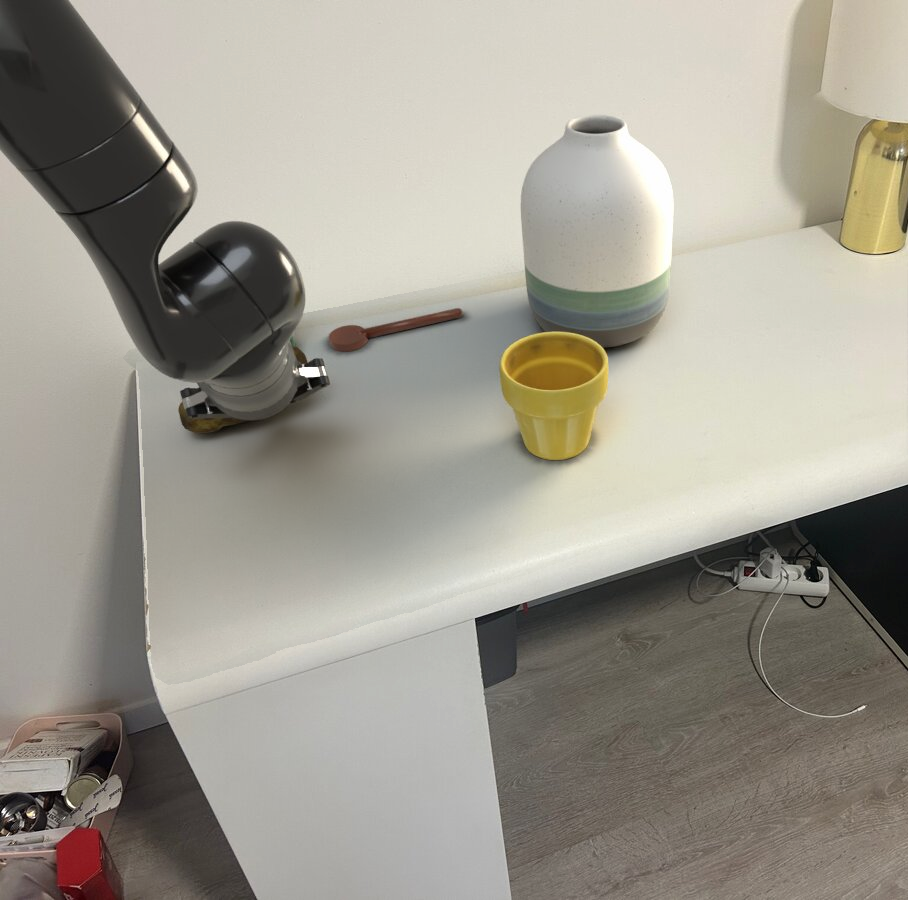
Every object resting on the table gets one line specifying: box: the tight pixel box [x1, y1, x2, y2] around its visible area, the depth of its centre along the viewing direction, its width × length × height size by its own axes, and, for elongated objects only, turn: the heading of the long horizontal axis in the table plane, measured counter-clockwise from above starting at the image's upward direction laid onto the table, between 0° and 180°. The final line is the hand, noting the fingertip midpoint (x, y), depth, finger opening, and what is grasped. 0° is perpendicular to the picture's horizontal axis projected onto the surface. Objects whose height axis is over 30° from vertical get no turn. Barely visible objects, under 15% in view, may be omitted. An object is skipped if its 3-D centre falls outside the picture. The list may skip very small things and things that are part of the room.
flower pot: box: [498, 331, 609, 461], centre depth 83 cm, size 10×10×10 cm
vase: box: [520, 114, 674, 349], centre depth 96 cm, size 17×17×24 cm
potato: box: [177, 345, 309, 434], centre depth 87 cm, size 8×13×8 cm, turn 98°
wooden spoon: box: [328, 307, 464, 352], centre depth 102 cm, size 16×4×1 cm, turn 114°
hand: (265, 406), depth 84 cm, fingers closed
